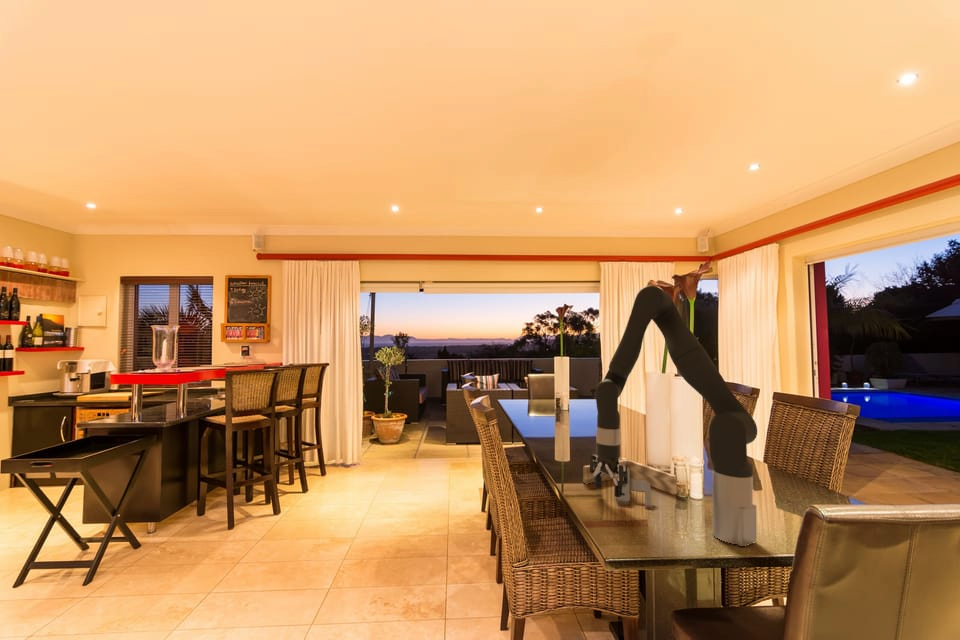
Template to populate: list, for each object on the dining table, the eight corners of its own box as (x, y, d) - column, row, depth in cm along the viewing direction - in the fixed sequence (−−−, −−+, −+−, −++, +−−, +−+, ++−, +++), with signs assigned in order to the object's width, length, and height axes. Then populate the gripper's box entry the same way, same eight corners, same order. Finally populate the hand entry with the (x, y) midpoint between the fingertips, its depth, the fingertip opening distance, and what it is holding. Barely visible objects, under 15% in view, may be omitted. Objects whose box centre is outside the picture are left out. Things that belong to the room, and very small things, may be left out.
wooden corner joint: (676, 493, 147) (676, 475, 147) (629, 504, 137) (630, 485, 137) (623, 473, 168) (623, 457, 168) (579, 481, 157) (579, 464, 158)
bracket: (648, 490, 149) (649, 469, 145) (650, 527, 137) (651, 504, 133) (616, 486, 153) (616, 465, 148) (615, 521, 141) (615, 500, 136)
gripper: (633, 445, 136) (633, 497, 135) (600, 435, 148) (600, 483, 148) (616, 448, 132) (615, 501, 132) (584, 437, 145) (583, 487, 144)
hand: (607, 492), depth 140 cm, fingers open, 8 cm apart
